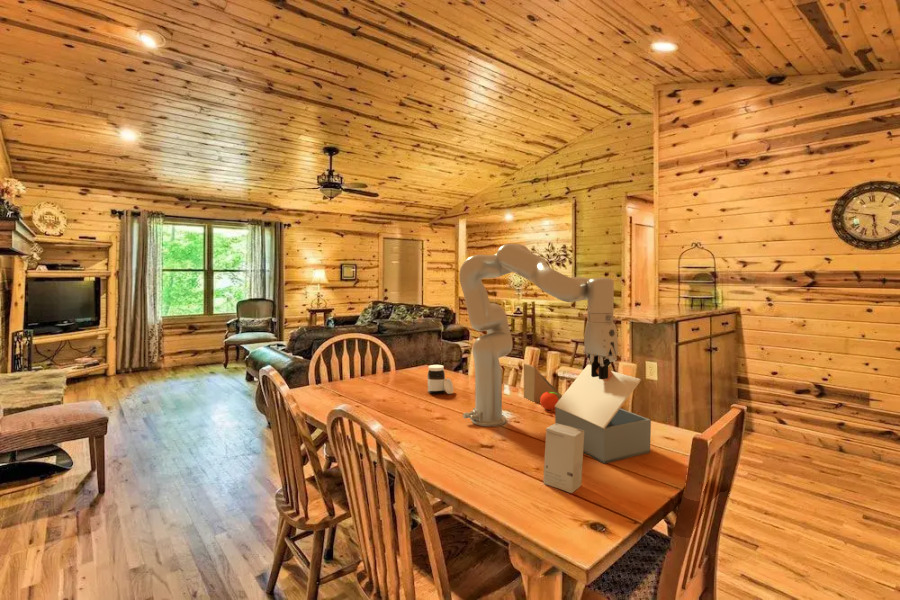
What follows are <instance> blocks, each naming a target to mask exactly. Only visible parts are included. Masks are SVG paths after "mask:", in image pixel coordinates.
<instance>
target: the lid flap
mask: <svg viewBox="0 0 900 600" xmlns="http://www.w3.org/2000/svg"><path fill="white" fill-rule="evenodd" d="M600 366H601V365H600ZM596 372H597V373H598V375H599V367H598V369H597V370H596ZM641 381H642V380H641V378H638V377H636V376H635V377H634V376H630V375H627V374H623V373H620V372H617V371H613V370H611V369H610V367H608V378H607V379H599V376H598V377H592V376H591V364H590V363H589V364H587V365H586V366H585V368H584V369H583V370H582V371H581V372H580V374H579V375H578V376H577V377H576V379H575V380H574V381H573V382H572V383H571V385H570V386H569V387H568V388H567V390H566V391H565V392H564V393H563V394H562V397H561V398H560V399H559V400H558V402H557V403H556V405H555V407H556V408H559V409H561V410H563V411H565V412H568V413H570V414H572V415H574V416H576V417H579V418H581V419H583V420H585V421H588V422H590V423H592V424H594V425H596V426H599V427H601V428H603V429H605V427H606V426H607V425H608V423H609V422H610V421H611V419H612V418H613V417H614V415H615V414H616V413H617V411H618V410H619V409H620V408H621V407H622V406H623V405H624V403H626V401H627V400H628V399H629V397H630V396H631V394H632V393H633V392H634V390H635V389H636V388H637V387H638V385H639V384H640V382H641Z"/></svg>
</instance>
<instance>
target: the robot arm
mask: <svg viewBox="0 0 900 600" xmlns="http://www.w3.org/2000/svg"><path fill="white" fill-rule="evenodd" d="M510 273H514V274H516V275H518V276H519V277H521V278H523V279H526V280H528V281H530V282H531V283H533V284H534V286H536V287H537V288H539V289H540V290H541V291H543V293H546V294H548V295H550V296H552V297H554V298H556V299H557V300H560V301H562V302H565V303H574V302H581V301H587V320H586V325H585V331H584V345H583V346H584V350H583V351H584V352H583V353H584V355H585V356H586V357H587V358H588V360H589V364H590V365H591V376H592V377H598V376H599V379H607V378H608V368H609V366H610V365H611V364H612V363H613V362H615V361H617V356H618V353H619V345H618V344H619V342H618V339H619V338H618V330H617V327H616V324H615V323H614V321H615V319H616V318H615V316H614V293H615V287H614V285H615V284H614V279H612V278H609V277H593V278H588V277H581V276H575V277H574V276H572V277H570V276H567V275H565V274H563V273H561V272H559V271H557V270H555V269H553V268H552V267H551V266H549V265H548V263H547V259H545V258H544V257H542V256H540V255H537V254H535V253H533V252H531V251H530V249H529V248H528V247H527V246H525V245H524V244H520V243H506V244H503V245H501V246H500V247H499V248H498V249H497V252H496V253H494V254H476V255H471V256H469V257H468V258H466V259H465V260H464V261H463V263H462V265H461V266H460V269H459V276H458V278H459V284H460V288H461V290H462V294H463V298H464V301H465V303H464V304H465V307H466V312H467V315H468V319H469V323H470V326H471V328H472V329H473V330H475V331H477V332H484V331H486V334H483V335H481V336H479V337H477V338H476V339H475V340H474V341H473V345H472V355H473V361H474V376H475V377H474V378H475V379H474V383H475V384H474V385H475V386H474V387H475V388H474V389H475V392H474V394H475V395H474V396H475V401H474V402H475V407H474V408H472V410H471V411H470V412H464V413H463V414H462V417H463V419H470V420H471V422H472V423H473V424H474V425H477V426H479V427H490V428H491V427H498V426H502V425H504V424H506V422H507V417H506V416H505V415H504V414H502V413H503V406H502V405H503V395H502V394H503V385H502V384H503V379H502V378H503V377H502V376H503V374H502V373H503V371H502V367H501V363H500V358H504V357H505V356H508V355H509V354H510V353H511V351H512V350H513V338H512V334H511V330H510V329H511V328H510V325H509V320H508V317H507V314H506V311H505V310H504V308H503V307H502V306H501V305H500V304H498V303H493V302H490V298H489V294H488V290H487V289H486V286H485V285H484V283H483V281H482V280H484V279H495V278H499V277H502V276H505V275H508V274H510ZM600 365H601V366H600ZM598 367H599V375H598V373H597V372H596V370H597V369H598Z"/></svg>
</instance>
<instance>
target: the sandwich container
mask: <svg viewBox="0 0 900 600" xmlns="http://www.w3.org/2000/svg"><path fill="white" fill-rule="evenodd" d="M545 392H554V394H555V393H557V394H558V395H557V394H555V395H556V396H557V398H558V401H559V400H560V398H561V397H562V396H563V394H561V393H560V392H559V391H558V390H557V389H556V388H555V387H554V386H553V385H552V384H551V383H550V382H549V381H548V380H547V379H546V378H545V376H543V374H542V373H541V372H540V371H538V369H537V368H536V367H535V366H533V365H531V364H527V363H523V398H524V399H525V398H526V400H527V399H528V400H527V401H529V400H530V402H531V401H532V403H533V402H539V403H540V398H541V396H542V394H544V393H545Z"/></svg>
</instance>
